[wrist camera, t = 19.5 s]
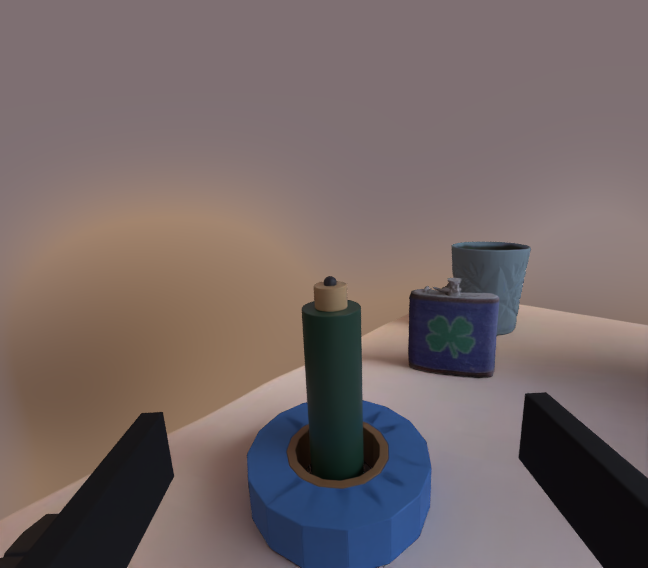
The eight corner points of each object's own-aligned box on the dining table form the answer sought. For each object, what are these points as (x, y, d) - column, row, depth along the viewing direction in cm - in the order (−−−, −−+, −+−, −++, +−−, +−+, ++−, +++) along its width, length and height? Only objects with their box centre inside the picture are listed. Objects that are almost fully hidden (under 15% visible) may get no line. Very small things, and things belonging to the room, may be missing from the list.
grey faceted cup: (435, 324, 53) (437, 246, 51) (470, 309, 59) (474, 239, 57) (501, 343, 46) (509, 252, 43) (534, 324, 52) (543, 243, 49)
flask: (493, 368, 39) (500, 276, 37) (495, 381, 37) (503, 282, 34) (409, 358, 43) (410, 273, 40) (405, 370, 40) (406, 279, 37)
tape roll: (349, 412, 32) (348, 383, 32) (466, 495, 23) (469, 456, 22) (224, 474, 26) (220, 439, 25) (318, 628, 16) (315, 578, 15)
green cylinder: (342, 458, 27) (335, 268, 23) (375, 487, 24) (373, 276, 20) (302, 481, 25) (288, 276, 21) (333, 516, 22) (323, 287, 18)
